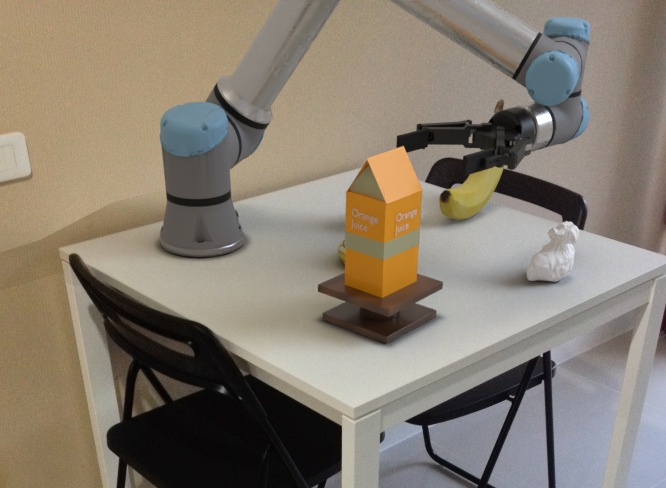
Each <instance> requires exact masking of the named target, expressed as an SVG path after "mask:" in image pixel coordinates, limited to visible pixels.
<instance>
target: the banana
mask: <svg viewBox="0 0 666 488" xmlns="http://www.w3.org/2000/svg"><path fill="white" fill-rule="evenodd" d="M504 105H505V101H504V99H499V100H498V101H497V102H496V105H495V107H494V110H493V113H494V114H495V113H497V112H498V111H501V110H504V107H505V106H504ZM480 151H483V150H481V149H480ZM504 168H505V165H503V167H501V168H498V167H496V166H495V167H493V168H490V169H486V170H483V171H480V172H476V173H473V174H470V175H468V177H467V178H466V179H465V180H464V182H463V183H461V185H459V186H457V187H455V188H446V189H444V190H443V191H442V192H441V193H440V194H439V198H438V202H439V209H440V211H441V214H442V215H443V216H445V217H446V218H449V219H452V220H456V221H457V220H458V221H462V220H467V219H470V218H471V217H473V216H475V215H476V214H477V213H479V212H481V210H482V209H484V208H485V206H486V205H487V204H488V202H489V201H490V199H491V198H492V196H493V193H495V190H496V189H497V186H498V184H499V182H500V179H501V177H502V174H503V172H504Z"/></svg>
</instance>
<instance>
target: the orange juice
mask: <svg viewBox="0 0 666 488" xmlns="http://www.w3.org/2000/svg"><path fill="white" fill-rule="evenodd" d="M422 196H423V188H422V186H421V183H420V181H419V178H418V176H417V174H416V171H415V169H414V166H413V165H412V162H411V160H410V158H409V155H408V153H406V150H405V148H404V146H402V147H399V148H393V149H390V150H388V151H384V152H381V153H379V154H376V155H372V156H369V157H366V161H365V162H364V164H363V165H362V167H361V168H360V170H359V172H358V173H357V174H356V176H355V178H354V179H353V181H352V183H350V185H349V187H348V189H347V190H346V191H345V229H344V240H345V264H344V272H345V285H347V286H350V287H353V288H355V289H358V290H361V291H364V292H367V293H369V294H372V295H375V296H378V297H381V298H383V297H385V296H387V295H389V294H391V293H394V292H396V291H398V290H400V289H402V288H404V287H406V286H408V285H410V284H412V283H414V282H416V281H417V274H418V267H419V266H418V263H419V247H420V238H421V237H420V235H421V213H422Z"/></svg>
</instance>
